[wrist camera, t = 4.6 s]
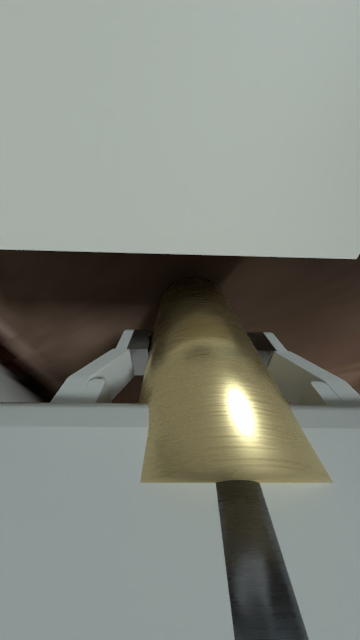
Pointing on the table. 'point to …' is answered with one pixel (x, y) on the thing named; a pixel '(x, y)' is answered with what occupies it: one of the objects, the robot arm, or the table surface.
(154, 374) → the spout can
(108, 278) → the table surface
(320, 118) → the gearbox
